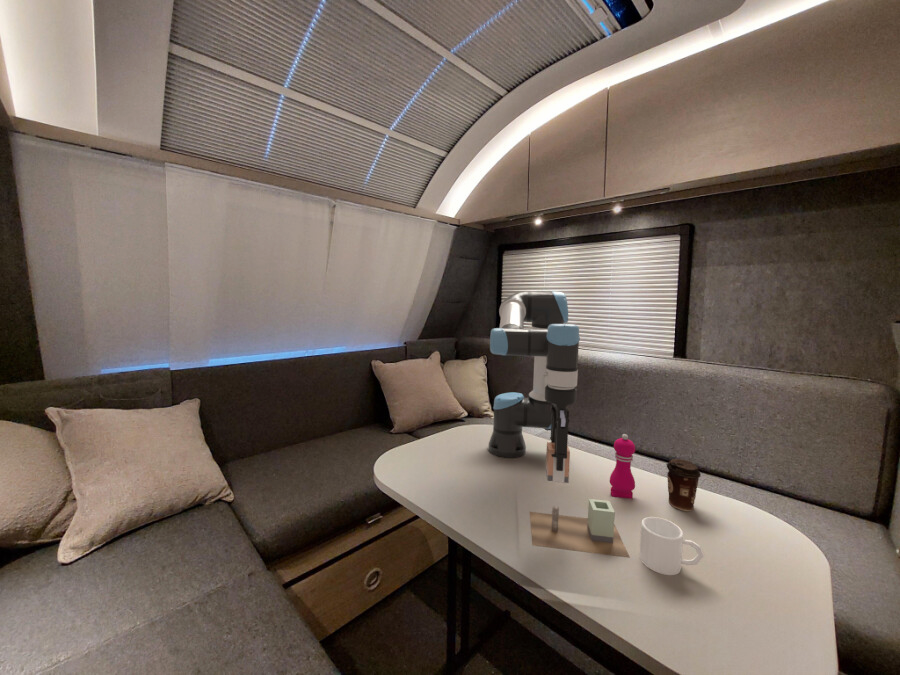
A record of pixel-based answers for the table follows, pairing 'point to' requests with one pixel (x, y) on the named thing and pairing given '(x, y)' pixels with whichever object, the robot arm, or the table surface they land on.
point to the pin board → (571, 534)
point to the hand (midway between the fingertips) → (556, 475)
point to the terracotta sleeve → (550, 462)
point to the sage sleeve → (601, 520)
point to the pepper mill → (623, 469)
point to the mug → (664, 546)
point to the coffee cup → (682, 483)
